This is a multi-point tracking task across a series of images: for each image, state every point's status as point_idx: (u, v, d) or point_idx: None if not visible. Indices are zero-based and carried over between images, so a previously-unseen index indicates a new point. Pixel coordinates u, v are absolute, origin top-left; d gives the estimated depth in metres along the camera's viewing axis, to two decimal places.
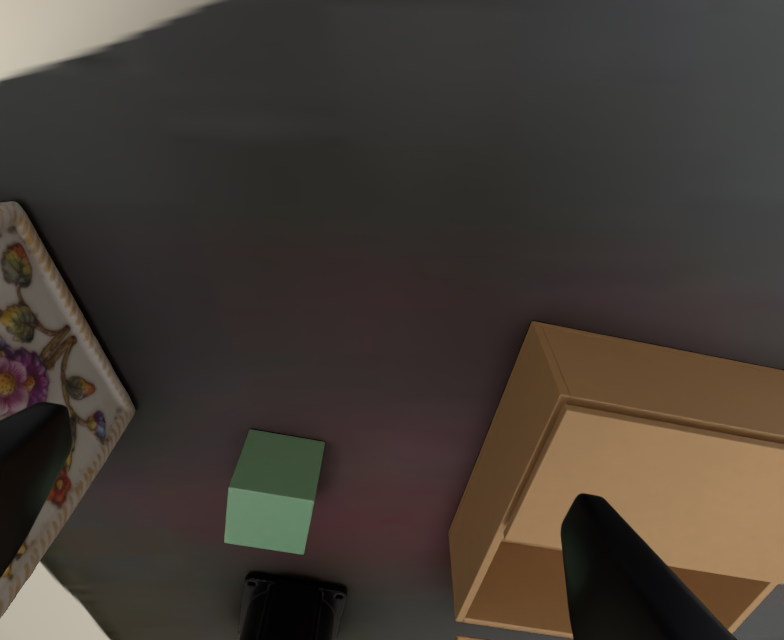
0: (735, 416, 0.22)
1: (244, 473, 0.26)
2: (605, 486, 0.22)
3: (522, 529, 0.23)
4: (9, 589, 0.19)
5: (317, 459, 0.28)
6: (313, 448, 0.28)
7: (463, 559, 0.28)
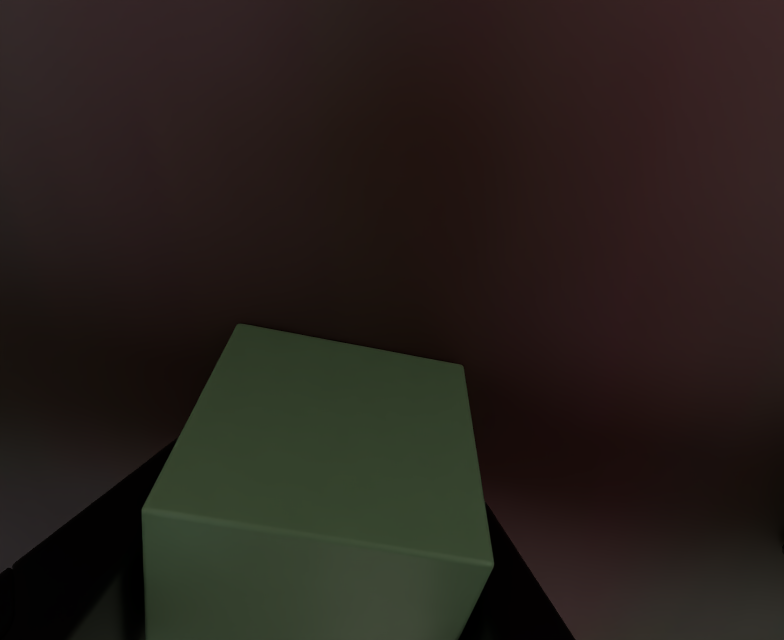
0: None
1: None
2: None
3: None
4: None
5: None
6: None
7: None
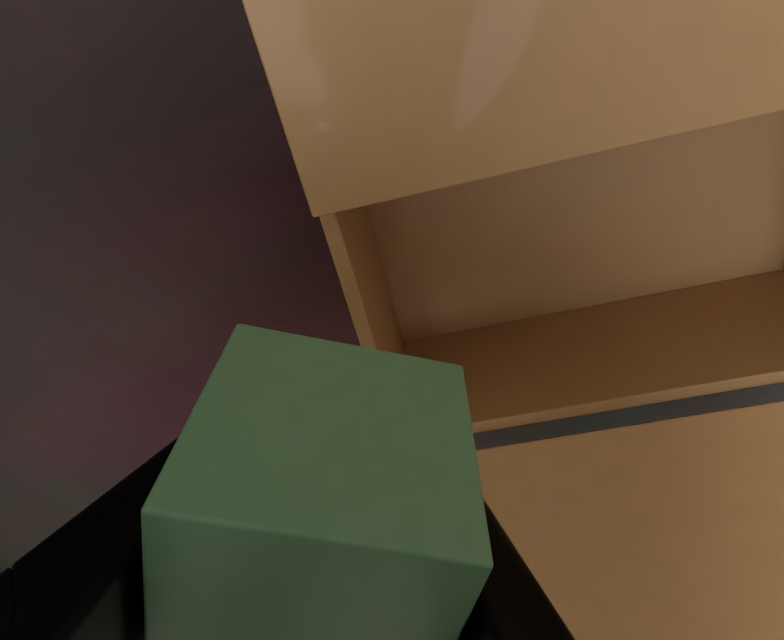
0: None
1: None
2: None
3: (325, 176, 0.11)
4: None
5: None
6: None
7: None
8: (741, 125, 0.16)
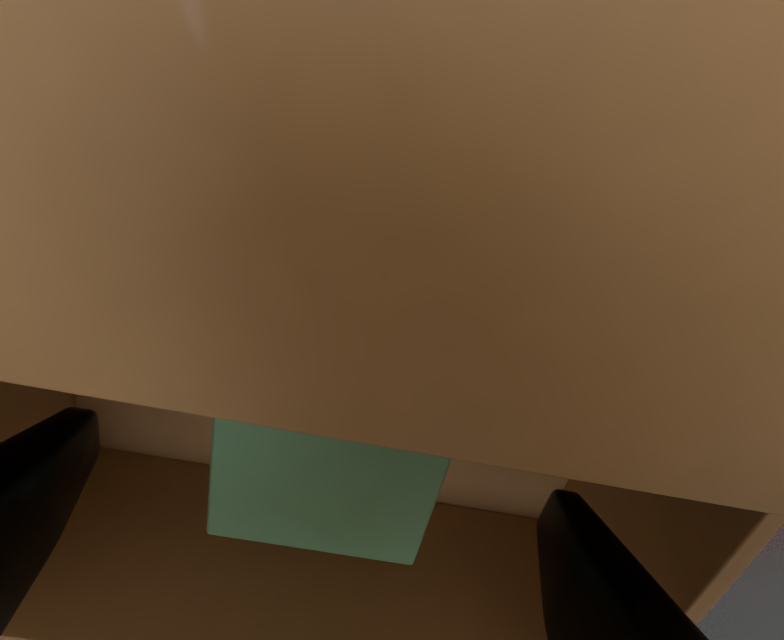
0: None
1: None
2: None
3: None
4: None
5: None
6: None
7: None
8: None
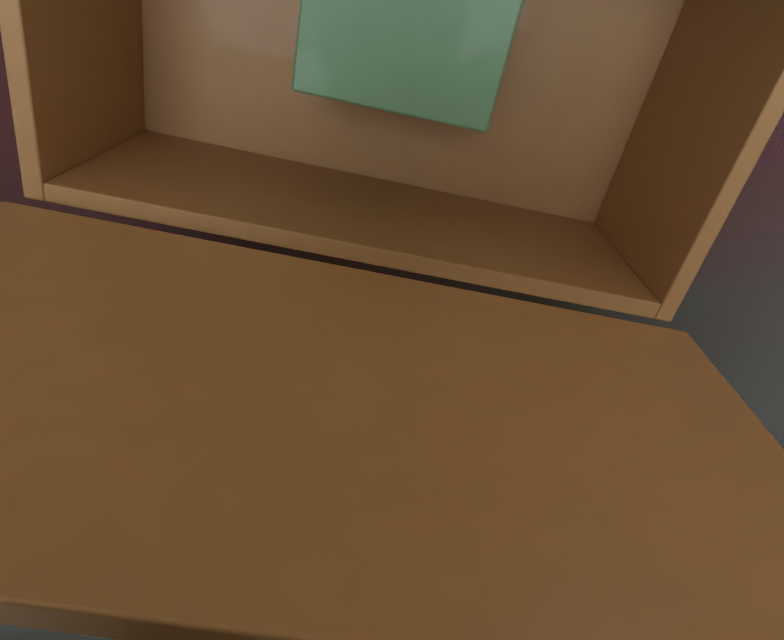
0: None
1: None
2: None
3: None
4: None
5: None
6: None
7: None
8: (610, 13, 0.13)
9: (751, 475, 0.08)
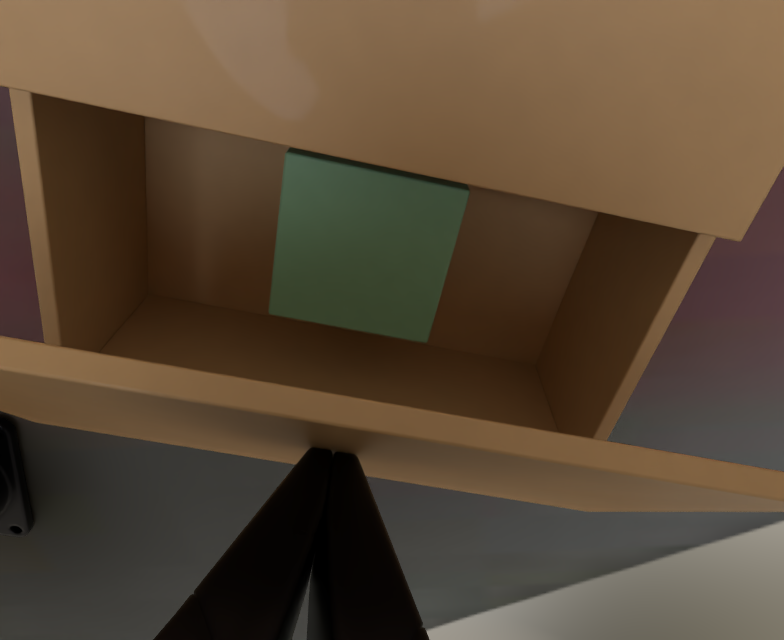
0: None
1: None
2: None
3: (5, 35, 0.09)
4: None
5: None
6: None
7: None
8: (539, 213, 0.16)
9: None
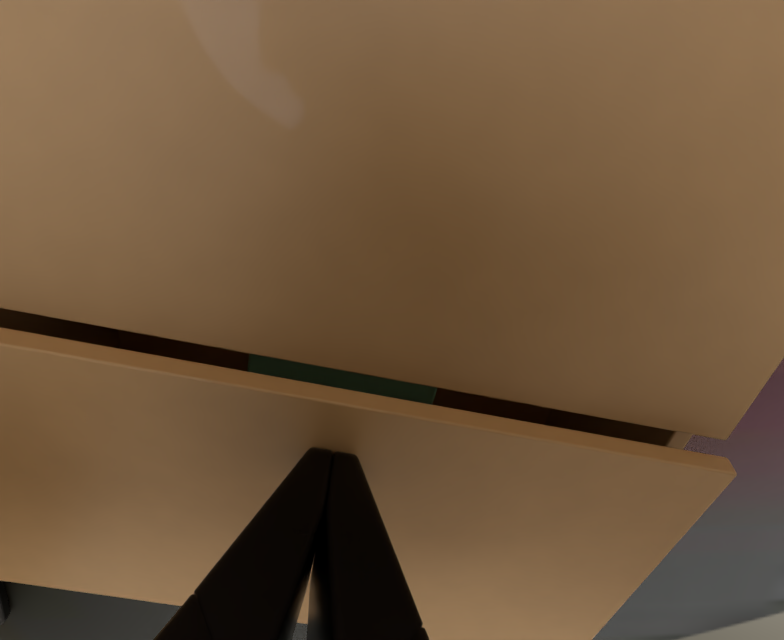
0: None
1: None
2: (90, 66, 0.07)
3: None
4: None
5: None
6: None
7: None
8: None
9: None
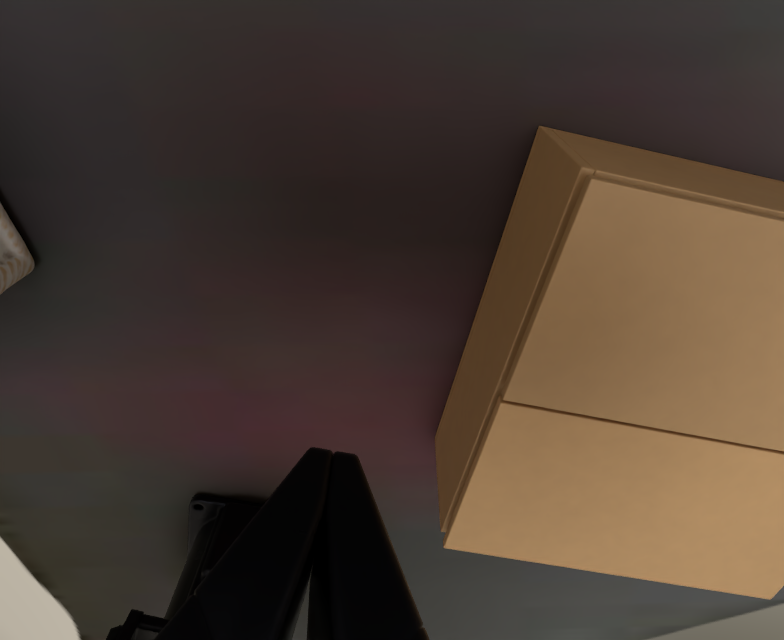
0: None
1: None
2: (641, 311, 0.16)
3: (526, 383, 0.17)
4: None
5: None
6: None
7: (451, 456, 0.22)
8: None
9: None
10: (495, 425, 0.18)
